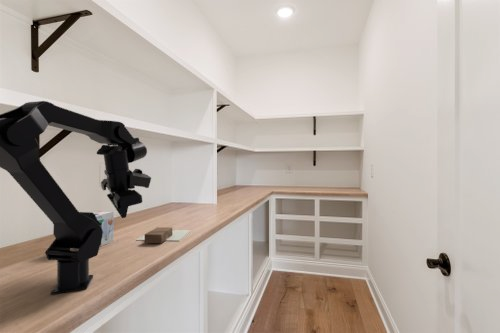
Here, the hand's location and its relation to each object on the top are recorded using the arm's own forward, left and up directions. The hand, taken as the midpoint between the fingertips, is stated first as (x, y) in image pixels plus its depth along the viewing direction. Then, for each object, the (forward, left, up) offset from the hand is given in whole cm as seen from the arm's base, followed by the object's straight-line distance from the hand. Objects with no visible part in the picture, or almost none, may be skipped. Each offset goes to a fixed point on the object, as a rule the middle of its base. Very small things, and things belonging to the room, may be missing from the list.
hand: (123, 217), depth 73 cm
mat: (+19, -13, -12) cm, 25 cm away
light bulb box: (+16, +11, -12) cm, 22 cm away
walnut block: (+9, -8, -10) cm, 16 cm away
